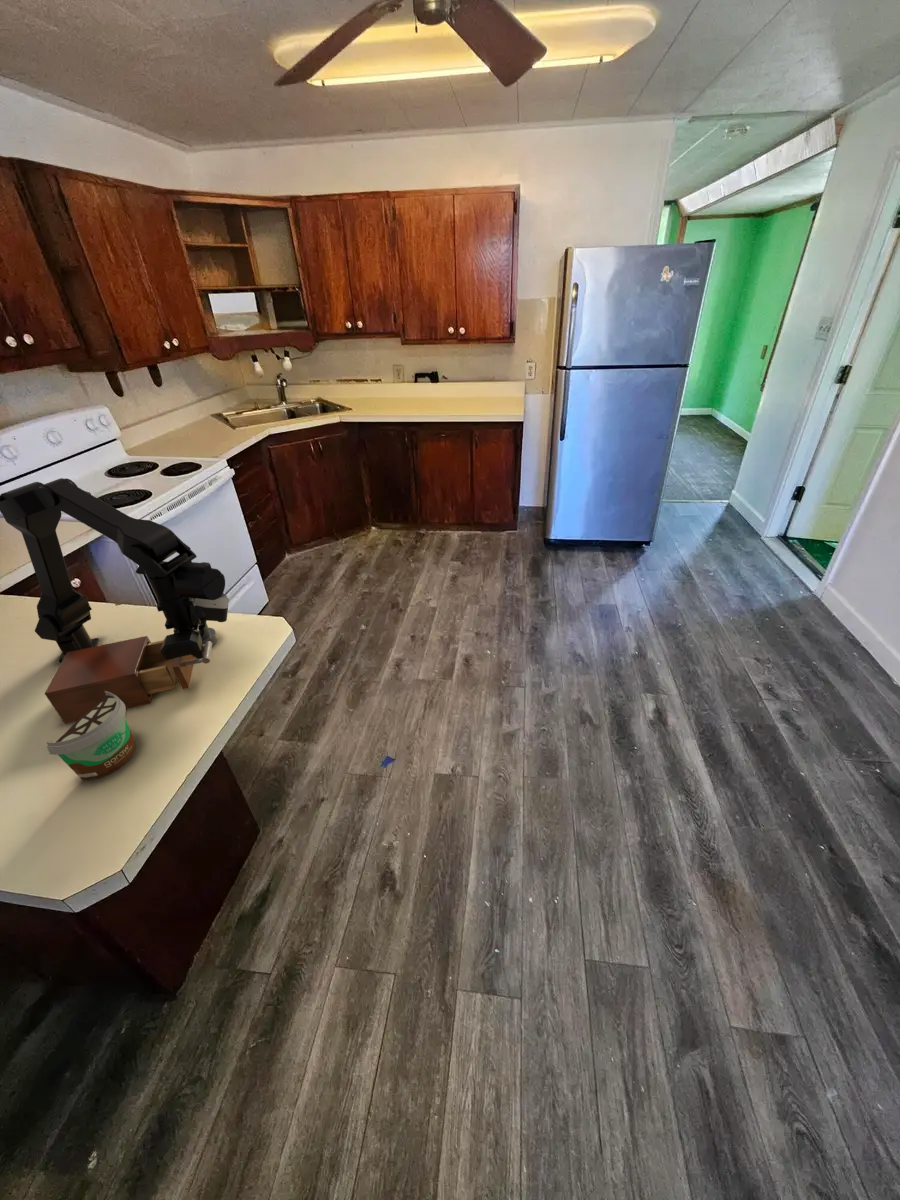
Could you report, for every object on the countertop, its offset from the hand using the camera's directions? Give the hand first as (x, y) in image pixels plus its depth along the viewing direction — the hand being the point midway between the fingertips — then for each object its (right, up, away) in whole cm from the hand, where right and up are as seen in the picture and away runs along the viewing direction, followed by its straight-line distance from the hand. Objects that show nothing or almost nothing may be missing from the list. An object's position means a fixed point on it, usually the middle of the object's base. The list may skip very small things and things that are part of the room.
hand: (200, 657), depth 99 cm
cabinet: (-16, -7, -2) cm, 17 cm away
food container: (-5, -16, -16) cm, 23 cm away
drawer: (-6, -4, 0) cm, 7 cm away
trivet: (-5, +2, +11) cm, 12 cm away
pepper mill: (-5, +4, +9) cm, 11 cm away
